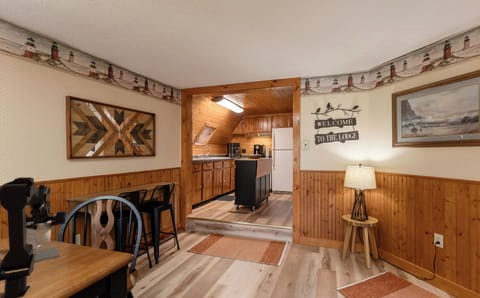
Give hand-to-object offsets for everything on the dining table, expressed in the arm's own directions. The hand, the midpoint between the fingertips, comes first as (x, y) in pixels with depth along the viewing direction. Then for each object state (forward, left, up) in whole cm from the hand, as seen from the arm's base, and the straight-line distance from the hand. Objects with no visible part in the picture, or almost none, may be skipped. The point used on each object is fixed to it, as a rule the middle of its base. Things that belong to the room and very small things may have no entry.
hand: (44, 228), depth 116 cm
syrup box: (+12, +7, -13) cm, 19 cm away
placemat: (-1, 0, -12) cm, 12 cm away
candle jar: (-1, 0, -7) cm, 7 cm away
